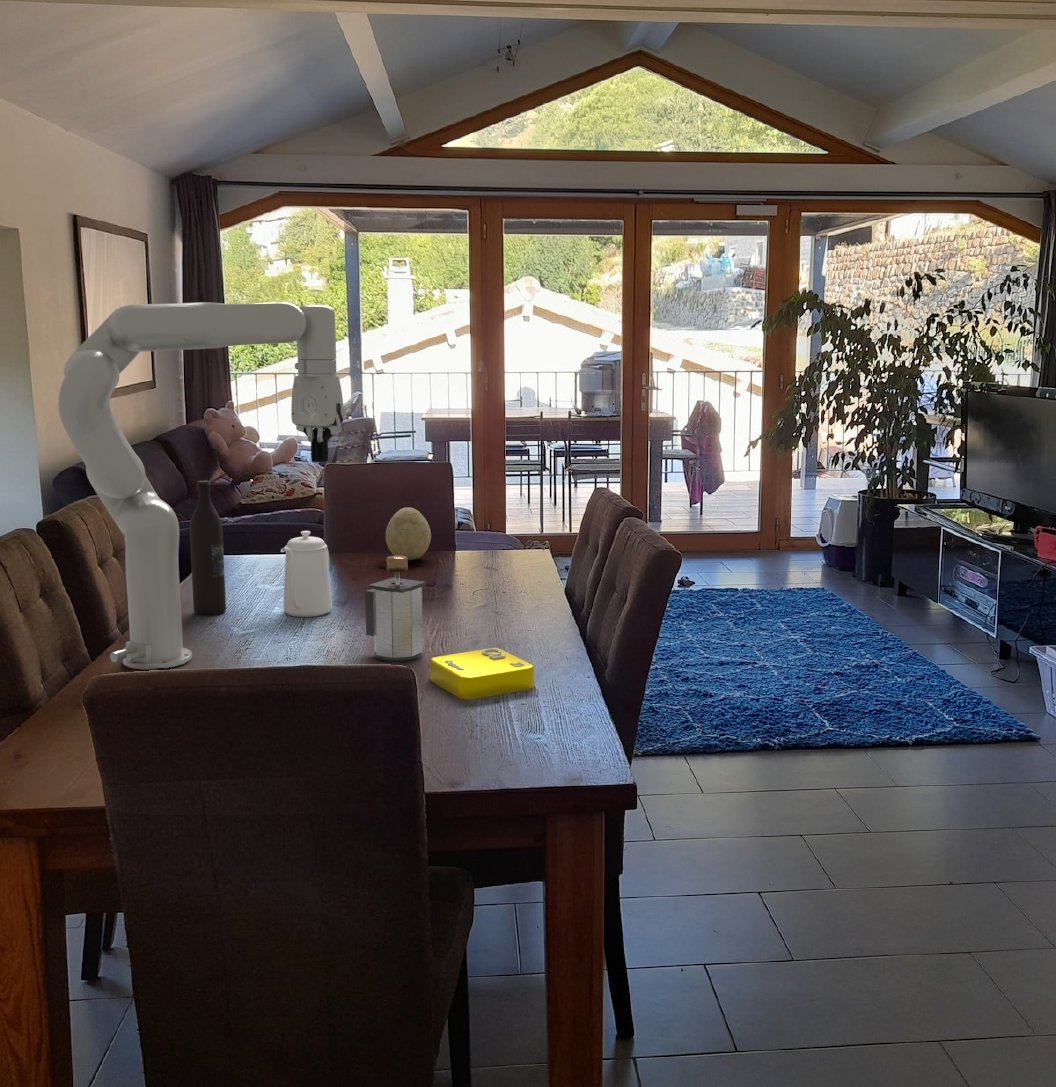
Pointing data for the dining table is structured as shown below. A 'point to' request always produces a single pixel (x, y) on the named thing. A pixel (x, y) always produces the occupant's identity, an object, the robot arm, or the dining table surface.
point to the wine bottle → (207, 556)
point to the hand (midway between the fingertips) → (319, 461)
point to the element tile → (481, 673)
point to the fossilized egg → (408, 534)
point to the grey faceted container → (395, 619)
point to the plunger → (397, 566)
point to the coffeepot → (306, 577)
